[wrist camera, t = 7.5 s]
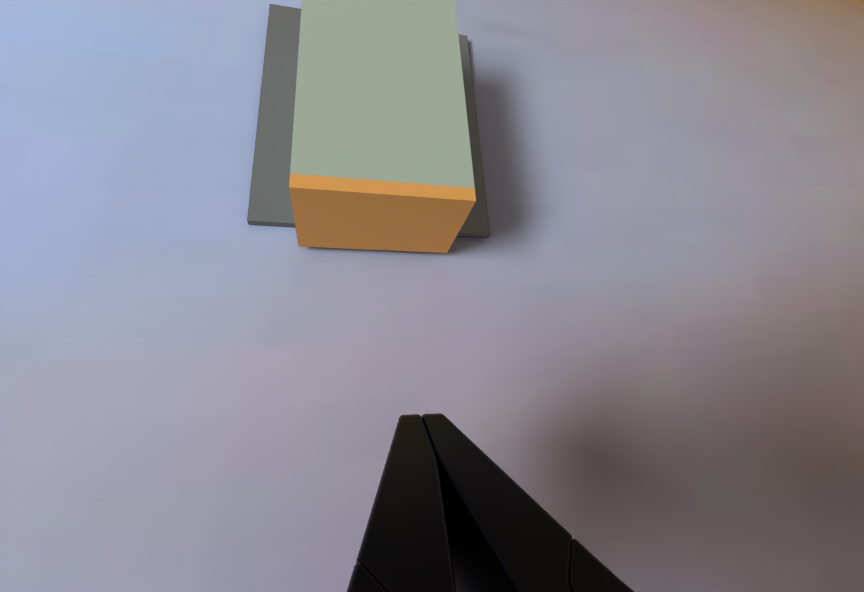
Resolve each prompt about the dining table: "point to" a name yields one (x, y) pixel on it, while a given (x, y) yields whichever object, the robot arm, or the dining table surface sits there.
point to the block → (380, 127)
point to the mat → (278, 117)
